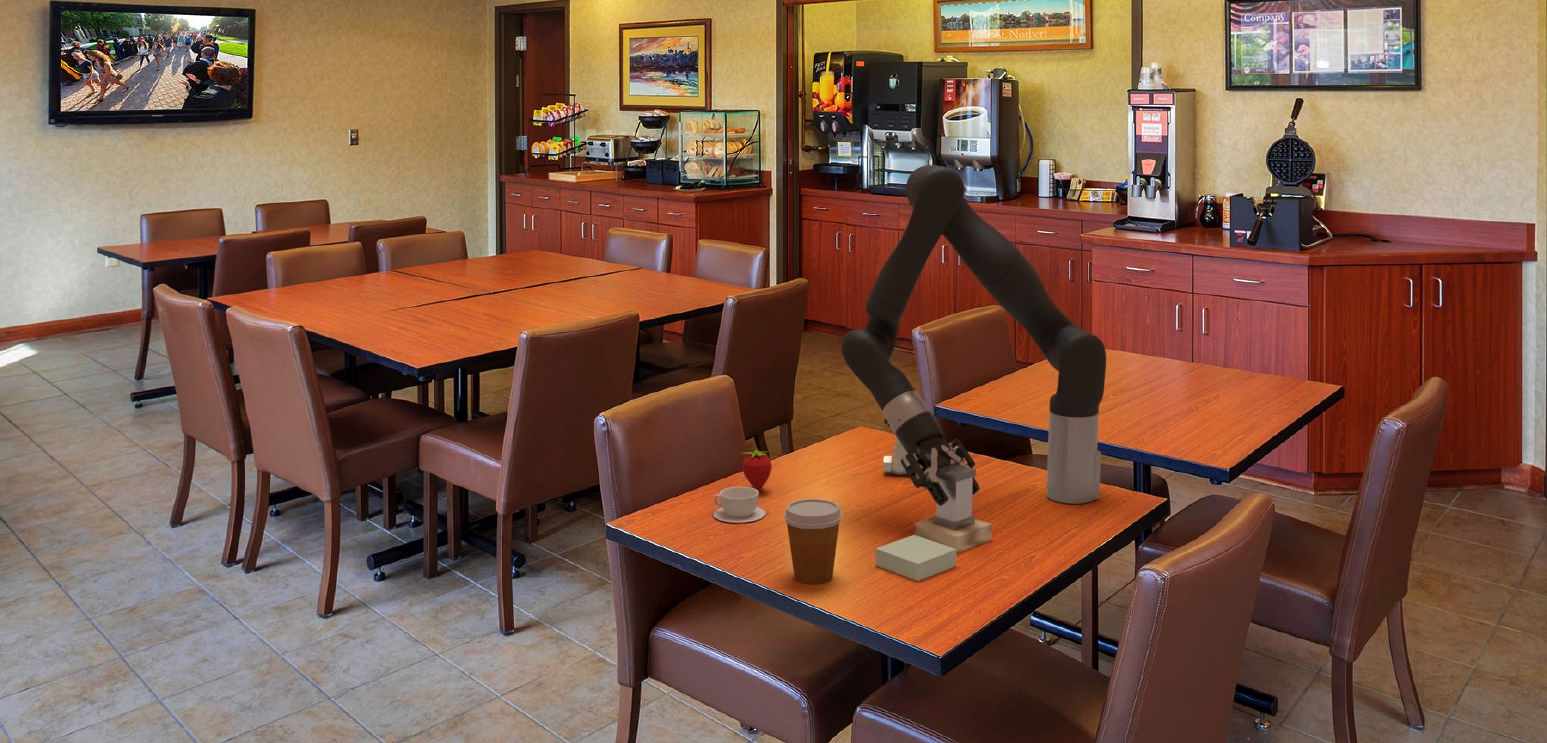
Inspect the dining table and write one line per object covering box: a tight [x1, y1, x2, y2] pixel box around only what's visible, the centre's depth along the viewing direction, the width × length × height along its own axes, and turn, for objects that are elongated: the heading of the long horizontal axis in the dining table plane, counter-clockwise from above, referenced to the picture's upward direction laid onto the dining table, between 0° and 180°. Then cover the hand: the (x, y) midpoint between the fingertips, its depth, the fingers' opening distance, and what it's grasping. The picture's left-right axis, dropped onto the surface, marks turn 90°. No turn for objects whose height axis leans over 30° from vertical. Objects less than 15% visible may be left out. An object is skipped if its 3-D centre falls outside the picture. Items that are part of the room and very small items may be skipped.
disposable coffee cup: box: [783, 498, 843, 585], centre depth 195 cm, size 10×10×12 cm
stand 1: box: [875, 534, 958, 582], centre depth 200 cm, size 10×10×3 cm
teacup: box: [712, 486, 767, 524], centre depth 226 cm, size 10×10×5 cm
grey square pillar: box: [932, 462, 977, 531], centre depth 210 cm, size 5×5×10 cm
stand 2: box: [915, 516, 993, 554], centre depth 211 cm, size 10×10×3 cm
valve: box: [882, 417, 907, 476], centre depth 248 cm, size 7×7×12 cm
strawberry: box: [741, 447, 773, 493], centre depth 239 cm, size 6×8×10 cm
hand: (960, 497), depth 209 cm, fingers open, 8 cm apart
